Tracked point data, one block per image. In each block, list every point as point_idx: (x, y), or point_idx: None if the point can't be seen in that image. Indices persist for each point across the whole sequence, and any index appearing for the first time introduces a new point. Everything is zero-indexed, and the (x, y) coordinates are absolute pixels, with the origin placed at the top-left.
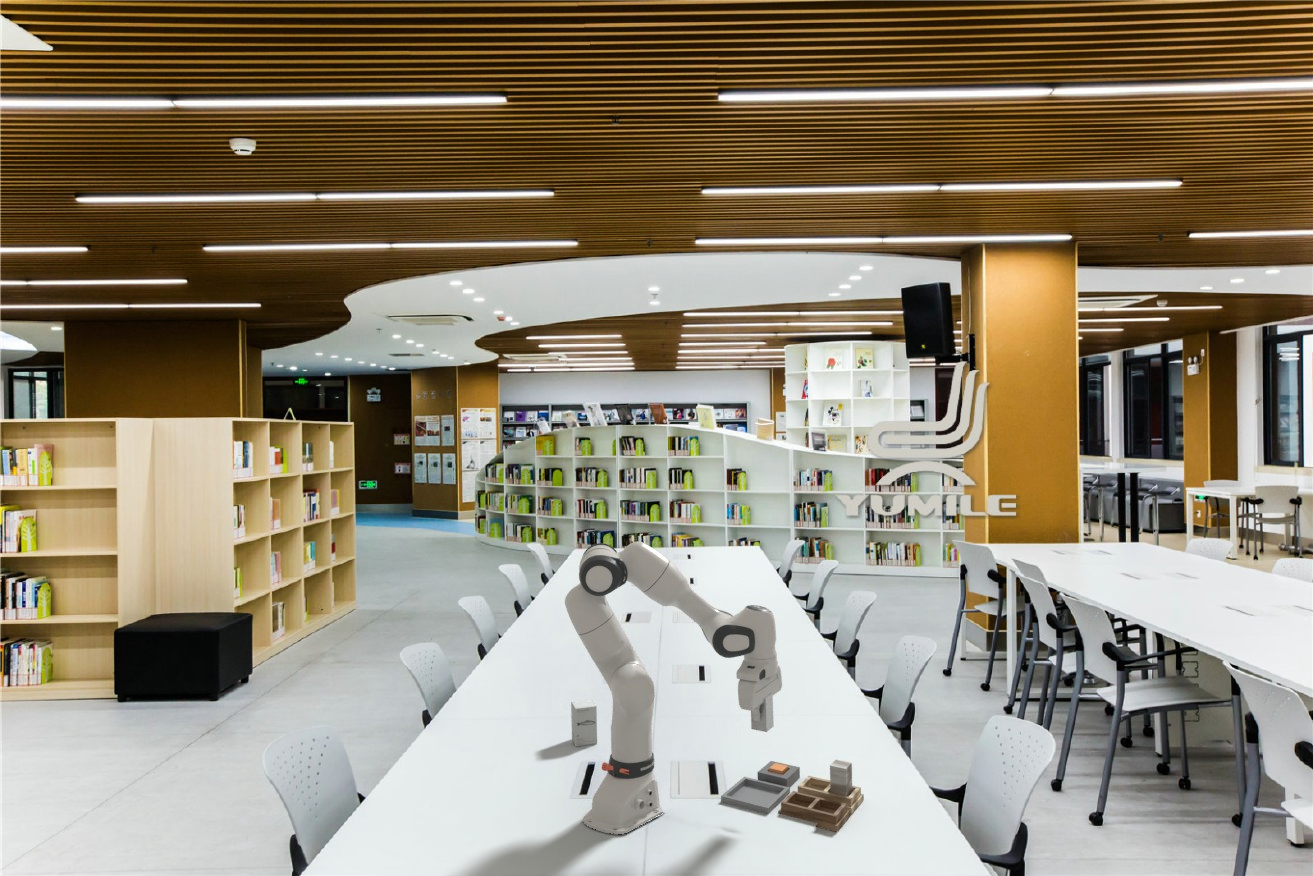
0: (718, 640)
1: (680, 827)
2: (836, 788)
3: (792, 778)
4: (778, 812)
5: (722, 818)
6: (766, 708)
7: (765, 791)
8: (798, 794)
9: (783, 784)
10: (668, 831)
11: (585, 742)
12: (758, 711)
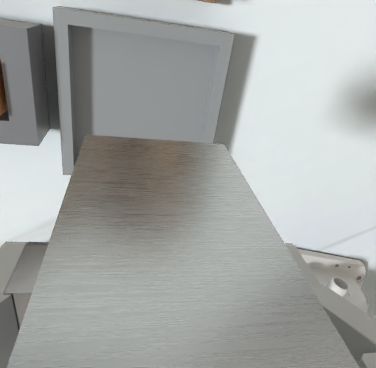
0: None
1: (320, 200)
2: None
3: None
4: (214, 1)
5: (263, 143)
6: (293, 294)
7: (91, 91)
8: None
9: (35, 41)
10: (338, 211)
11: None
12: (371, 321)
